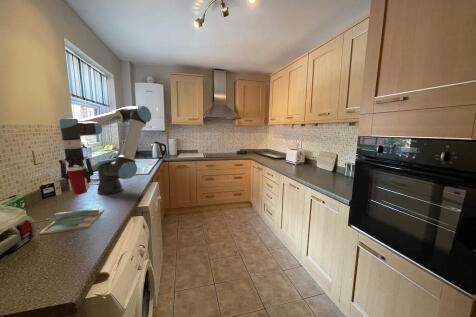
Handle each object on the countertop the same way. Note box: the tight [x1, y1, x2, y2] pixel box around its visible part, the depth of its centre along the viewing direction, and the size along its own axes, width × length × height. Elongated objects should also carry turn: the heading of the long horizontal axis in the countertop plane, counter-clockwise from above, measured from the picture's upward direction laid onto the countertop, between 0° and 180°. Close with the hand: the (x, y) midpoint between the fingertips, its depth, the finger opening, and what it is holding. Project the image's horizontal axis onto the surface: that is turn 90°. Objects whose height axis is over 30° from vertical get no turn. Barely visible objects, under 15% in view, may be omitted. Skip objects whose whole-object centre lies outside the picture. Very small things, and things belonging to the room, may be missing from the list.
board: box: [38, 209, 105, 235], centre depth 97 cm, size 20×18×1 cm
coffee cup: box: [66, 165, 88, 196], centre depth 109 cm, size 8×8×15 cm
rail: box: [54, 208, 100, 221], centre depth 100 cm, size 2×18×3 cm, turn 106°
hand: (80, 189), depth 110 cm, fingers closed on coffee cup, 7 cm apart
